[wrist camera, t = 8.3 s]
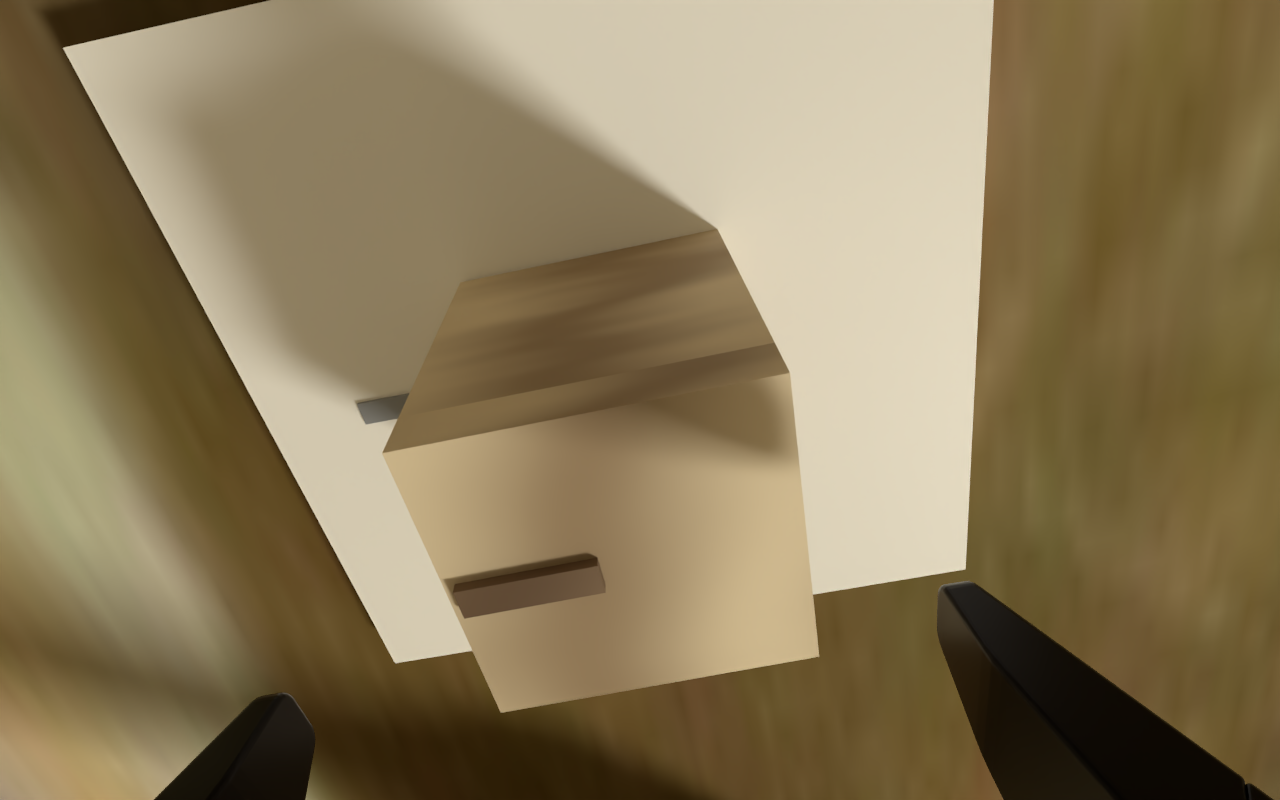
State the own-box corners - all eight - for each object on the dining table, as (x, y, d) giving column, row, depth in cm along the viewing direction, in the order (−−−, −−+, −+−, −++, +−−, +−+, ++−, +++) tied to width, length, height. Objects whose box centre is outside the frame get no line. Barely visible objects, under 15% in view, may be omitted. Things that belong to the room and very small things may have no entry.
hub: (951, 547, 23) (1042, 696, 18) (403, 638, 24) (350, 802, 19) (977, -158, 14) (1172, -234, 9) (94, 44, 15) (-149, 72, 10)
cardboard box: (717, 228, 16) (793, 379, 10) (748, 445, 19) (822, 665, 13) (460, 282, 17) (378, 460, 10) (530, 487, 20) (499, 722, 13)
